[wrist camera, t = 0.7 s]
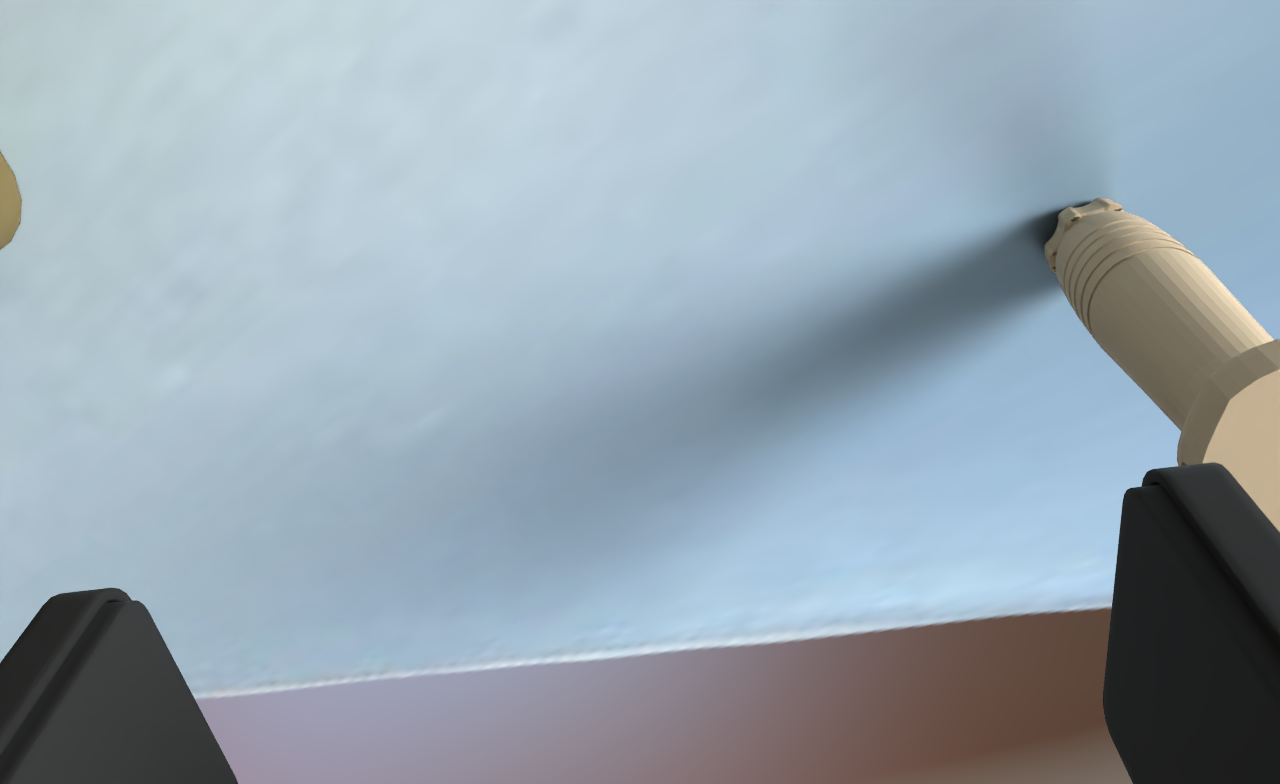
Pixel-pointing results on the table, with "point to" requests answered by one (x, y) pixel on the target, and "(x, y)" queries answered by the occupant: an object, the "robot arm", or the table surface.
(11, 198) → the wooden game pawn
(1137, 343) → the handle
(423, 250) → the table surface
